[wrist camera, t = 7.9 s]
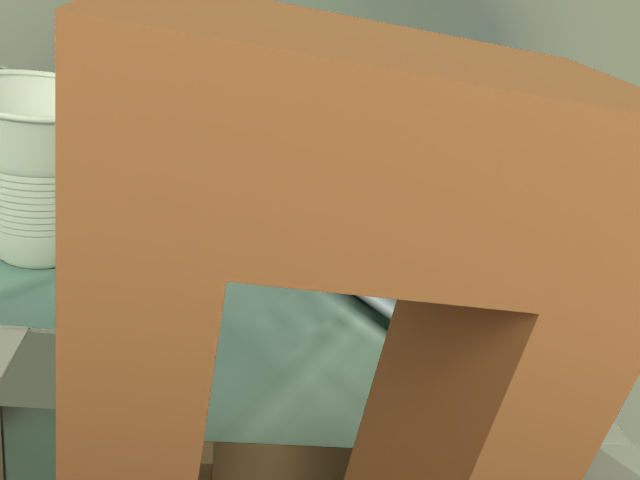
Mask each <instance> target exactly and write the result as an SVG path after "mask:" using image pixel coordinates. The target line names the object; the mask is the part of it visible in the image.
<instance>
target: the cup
mask: <svg viewBox="0 0 640 480" xmlns="http://www.w3.org/2000/svg"><path fill="white" fill-rule="evenodd" d="M0 259H1V260H3V261H4V262H6V263H8V264H11V265H13V266H17V267H21V268H28V269H47V268H54V267H55V73H52V72H43V71H33V70H15V69H0Z"/></svg>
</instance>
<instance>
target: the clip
mask: <svg viewBox="0 0 640 480" xmlns="http://www.w3.org/2000/svg"><path fill="white" fill-rule="evenodd" d="M55 272H56V480H198V476H199V469H200V462H201V455H202V448H203V441H204V434H205V428H206V421H207V414H208V407H209V400H210V393H211V386H212V379H213V372H214V365H215V359H216V352H217V345H218V338H219V331H220V324H221V317H222V310H223V303H224V296H225V289H226V283H227V282H235V283H244V284H254V285H264V286H273V287H283V288H293V289H302V290H312V291H322V292H331V293H341V294H351V295H361V296H370V297H380V298H390V299H397V301H396V304H395V308H394V311H393V315H392V318H391V321H390V325H389V328H388V332H387V335H386V338H385V342H384V345H383V349H382V352H381V355H380V359H379V362H378V365H377V369H376V372H375V376H374V379H373V382H372V386H371V389H370V393H369V396H368V399H367V403H366V406H365V410H364V413H363V416H362V420H361V423H360V427H359V430H358V433H357V437H356V440H355V444H354V447H353V450H352V454H351V457H350V460H349V464H348V467H347V471H346V474H345V477H344V480H583V478H584V476H585V474H586V472H587V471H588V469H589V467H590V465H591V463H592V461H593V459H594V458H595V456H596V454H597V452H598V450H599V448H600V446H601V445H602V443H603V441H604V439H605V437H606V435H607V433H608V432H609V430H610V428H611V426H612V424H613V422H614V420H615V419H616V417H617V415H618V413H619V411H620V409H621V407H622V406H623V404H624V402H625V400H626V398H627V396H628V394H629V393H630V391H631V389H632V387H633V385H634V383H635V382H636V380H637V378H638V376H639V374H640V87H638V86H635V85H633V84H630V83H628V82H625V81H623V80H620V79H618V78H615V77H613V76H610V75H608V74H605V73H602V72H600V71H597V70H595V69H592V68H590V67H587V66H585V65H582V64H580V63H577V62H574V61H572V60H569V59H567V58H562V57H557V56H552V55H547V54H542V53H537V52H532V51H527V50H522V49H517V48H511V47H506V46H501V45H496V44H491V43H486V42H481V41H476V40H470V39H465V38H460V37H455V36H450V35H445V34H440V33H435V32H429V31H424V30H420V29H415V28H409V27H404V26H399V25H394V24H389V23H383V22H379V21H374V20H369V19H363V18H358V17H353V16H348V15H343V14H338V13H333V12H327V11H322V10H318V9H313V8H307V7H302V6H297V5H292V4H287V3H282V2H277V1H272V0H74V1H72V2H70V3H67V4H65V5H63V6H60V7H58V8H56V9H55Z"/></svg>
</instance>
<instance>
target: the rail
mask: <svg viewBox="0 0 640 480" xmlns="http://www.w3.org/2000/svg"><path fill="white" fill-rule="evenodd" d="M352 450H353V448H340V447H319V446H297V445H276V444H255V443H233V442H212V441H203V448H202V455H201V462H200V469H199V476H198V480H344V477H345V474H346V471H347V467H348V464H349V460H350V457H351V454H352Z"/></svg>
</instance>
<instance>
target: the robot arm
mask: <svg viewBox="0 0 640 480" xmlns="http://www.w3.org/2000/svg"><path fill="white" fill-rule="evenodd" d="M0 480H56V330H52V329H42V328H32V329H31V328H29V327H19V326H8V325H0ZM583 480H640V445H634V444H631V442H630V441H629V440H628V438H627V437H626V436H625V435H624V433H623V432H622V431H621V429H620V428H619V427H618V426H617V424H616V423H615V421H614V422H613V424H612V426H611V428H610V430H609V432H608V433H607V435H606V437H605V439H604V441H603V443H602V445H601V446H600V448H599V450H598V452H597V454H596V456H595V458H594V459H593V461H592V463H591V465H590V467H589V469H588V471H587V472H586V474H585V476H584V478H583Z"/></svg>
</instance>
